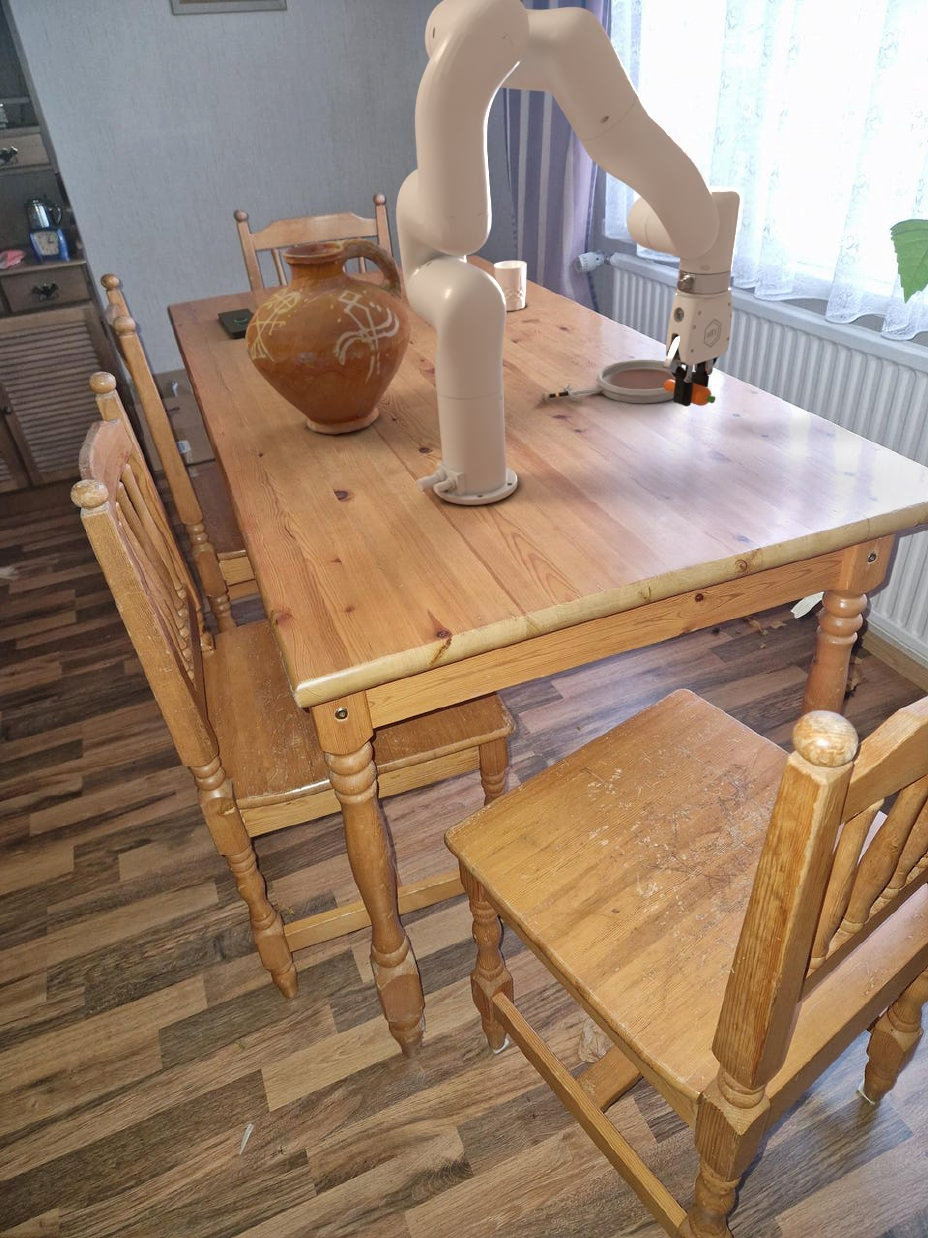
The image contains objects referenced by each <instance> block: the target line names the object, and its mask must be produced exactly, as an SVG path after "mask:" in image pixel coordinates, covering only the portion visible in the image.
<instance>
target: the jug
mask: <svg viewBox="0 0 928 1238" xmlns="http://www.w3.org/2000/svg"><path fill="white" fill-rule="evenodd" d="M281 256H282V257H283V259H284V260H283V261H284V262H285V263H286V264H287V265H288V267H289V269H290V275H291V278H290V283H288V285H286V286H285V287H282V288H281V289H279V290H277V291H275V292H274V293H272V295H270V296H269V297H267V298H266V300H265V301H264V302H262V303H261V304H260V305H259V306H258V308H257V309H256V311H255V313H253V315H254V316H253V317H252V319H251V320H250V322H249V324H248V327H247V330H246V337H244V341H245V348H246V352H247V355H248V357H249V359H250V361H251V362H252V364H253V366H254V368H255V369H256V370H257V371H258V373H259V374H260V376H262V378H263V379H264V380H265V381H266V382H267V383H268V384H269V385H270V387H272V388H273V389H274V390H275V391H276V393H278V394H279V396H281V397H282V398H284V400H286V401H287V402H288V403H289V404H291V405H292V406H293V407H294V408H295V409H297V410H298V411H300V412H301V413H302V414H303V415H304V416H305V417H307V418H306V425H307V427H308V428H309V430H311V431H312V432H315V433H319V434H324V435H339V434H347V433H352V432H356V431H357V432H358V431H361V430H364V429H366V428H368V427H369V426H370V425H372V423H373V422H374V421H376V420H377V419H378V417H379V415H380V412H379V410H378V409H377V405H378V404H379V402H380V401H381V399H382V397H383V396H384V394H385V393H386V391H387V390H388V388H389V386H390V384H391V383H392V381H393V379H395V376H396V375H397V373H398V371H399V369H400V367H401V364H402V362H403V360H404V357H405V355H406V353H407V350H408V348H409V347H408V346H409V342H410V337H411V324H410V319H409V316H408V313H407V310H406V305H405V300H404V295H403V289H402V277H401V272H400V269H399V267H398V264H397V262H396V259H395V258H394V257H393V255H392V254H391V253H390V252H389V251H388V250H387V249H386V248H385V247H383V246H382V245H380V244H378V243H376V242H373V241H372V240H369V239H365V238H345V239H343V240H342V239H341V240H331V241H324V242H311V243H306V244H303V245H299V246H295V247H291V248H287V249H284V250H283V251H282V252H281ZM358 258H364V259H366V260H369V261H371V262H373V263H374V265H376V267H377V268H378V269H379V270H380V271H381V273H382V274H383V280H382V282H381V283H380V284H376V283H374V282H373V281H370V280H367V279H363V278H360V277H356V276H351V275H350V274H348V273H347V272H346V271H345V270H344V266H345V264H346V263H347V262H348V260H354V259H358Z"/></svg>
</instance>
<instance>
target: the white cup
mask: <svg viewBox="0 0 928 1238" xmlns="http://www.w3.org/2000/svg"><path fill="white" fill-rule="evenodd" d="M493 272H494V273H493V275H494V279H495V281H496V282H497V283H498V285H499V286H500V288H501V290H502V292H503V294H504V298H505V302H506V312H512V311H519V310H522V309H524V308H525V306H526V304H525V303H526V293H527V292H526V291H527V262H526V261H522V260H504V261H503V260H502V261H499V262H496V263H494V264H493Z"/></svg>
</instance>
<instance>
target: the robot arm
mask: <svg viewBox="0 0 928 1238" xmlns="http://www.w3.org/2000/svg"><path fill="white" fill-rule="evenodd" d="M426 22H427V23H426V25H425V31H424V44H425V45H424V46H425V50H426V53H427V56H428V63H427V64H426V67H425V69H424V71H423V74H422V77H421V80H420V82H419V86H418V89H417V94H416V101H415V107H414V108H415V109H414V133H415V134H414V135H415V146H416V147H415V148H416V164H417V165H416V166H417V168H415V170H413V171H412V172H411V173H409V174H408V175H407V177H406V178H405V180H404V181H403V183H401V186H400V188H399V191H398V195H397V199H396V207H395V219H396V221H395V222H396V230H397V231H396V232H397V238H398V247H399V252H400V253H399V254H400V262H401V269H402V277H403V283H404V290H405V294H406V298H407V301H408V304H409V307H410V308H411V310H412V311H413V313H414V314H415V315H416V316H417V318H419V319H420V320H421V321H422V322H424V323H425V324H427V325H429V326H430V327H431V328H432V329H433V330H434V331H435V333H436V346H435V354H434V355H435V356H434V382H435V391H436V400H437V401H436V402H437V413H438V424H439V435H440V437H439V438H440V447H441V458H442V461H438V462H436V470H434V471H433V472H432V474H430V475H426V476H423V477H421V478H418V479H416V480H415V486H416V489H417V490H418V492H420V493H423V492H426V491H429V490H431V489H433V492H434V493H435V494H437V496H438V497H439V498H441V499H443V500H445V501H447V502H450V503H452V504H457V505H464V506H477V505H478V506H479V505H486V504H492V503H495V502H498V501H502V500H503V499H505V498H507V497H509V496H510V495H511V494H513V493H514V492H515V491H516V489H517V487H518V476H517V473H516V472H515V471H514V470H513V469H511V468H510V467H509V466H507V443H506V442H507V441H506V420H505V419H506V417H505V416H506V415H505V393H504V391H505V390H504V372H503V371H504V370H503V369H504V368H503V367H504V365H503V364H504V363H503V359H504V357H503V356H504V355H503V354H504V339H505V331H506V324H507V311H506V302H505V298H504V294H503V292H502V290H501V288H500V286H499V285H498V283H497V282H496V281H495V277H494V276H491V274H489V272H486V271H485V270H484V269H482V268H480V267H478V266H475V265H473V264H471V263H469V262H467V256H469V255H470V256H471V255H472V254H474V253H477V252H478V251H479V250H480V249H482V247H483V246H484V245H485V244H486V243H487V240H488V239H489V236H490V232H491V228H492V201H491V190H490V176H489V174H490V173H489V161H488V120H489V115H490V109H491V107H492V105H493V104H492V103H493V102H494V99H495V96H496V95H497V93H498V91H499V89H500V88H502V89H511V90H523V91H534V92H550V94H551V95H552V97H553V98H554V100H555V102H556V103H557V105H558V107H559V108H560V110H561V112H562V113H563V115H564V116H565V118H566V119H567V121H568V123H569V125H570V126H571V128H572V130H573V131H574V133H575V135H576V136H577V139H578V140H579V142H580V144H581V145H582V147H583V149H584V151H585V152H586V154H587V156H588V157H589V158H590V160H591V161H592V162H593V163H595V164H596V165H597V166H598V167H599V168H600V169H602V170H603V171H604V172H605V173H607V174H608V175H610V176H612V177H613V178H616V180H619V181H620V182H622V183H623V184H625V185H626V186H628V187H629V188H631V189H632V191H634V192H635V193H636V194H637V195H639V196H640V197H638V199H636V200H635V202H634V203H633V204H632V205H631V207H630V209H629V211H628V214H627V218H626V227H627V231H628V234H629V236H630V238H631V239H632V240H633V242H635V243H636V244H637V245H639V246H641V247H642V248H644V249H646V250H649V251H650V250H651V251H654V252H657V253H662V254H666V255H669V256H671V257H674V258H679V266H678V267H679V268H678V275H677V282H676V293H675V295H674V299H673V303H672V306H671V311H670V316H669V320H668V327H667V333H666V334H667V335H666V343H665V357H666V358H665V360H664V361H665V362H664V365H663V368H664V369H665V370H668V371H670V372H671V373H672V374H673V378H674V379H675V387H674V396H673V399H672V401H673V402H674V403H675V404H679V405H681V406H684V407H690V406H691V404H692V403H691V397H692V390H693V383H695V384H698V385H701V386H705V387H707V388H708V389H709V380H710V376H711V375H712V374H713V371H714V366H715V364H716V362H717V361H718V359H719V358H720V357H721V356H722V355H724V354H725V353H727V351H728V350H729V346H730V339H731V332H732V331H731V329H732V319H733V318H732V317H733V295H732V289H731V287H730V283H731V277H732V270H733V269H732V268H733V262H734V254H735V248H736V247H735V246H736V240H737V234H738V225H739V218H740V211H741V201H742V200H741V199H742V198H741V195H740V193H739V191H737V190H736V189H734V188H731V187H723V186H708V184H707V182H706V180H705V178H704V176H703V175H702V173H701V170H700V169H699V168H698V166H697V165H696V164H695V162H694V160H692V158H691V157H690V156H689V155H688V153H687V152H685V150H684V149H683V148H682V147H681V146H680V145H679V144H678V143H677V142H676V141H675V140H674V139H673V137H672V136H671V135H670V134H669V133H668V132H667V131H666V130H665V129H664V128H663V126H661V124H660V123H658V121H657V120H656V119H654V118H653V116H652V115H651V114H650V113H649V111H648V110H647V108H646V106H645V105H644V103H643V100H642V99H641V97H640V95H639V93H638V91H637V89H636V87H635V86H634V84H633V82H632V80H631V78H630V76H629V74H628V72H627V70H626V67H625V66H624V65H623V62H622V60H621V58H620V57H619V55H618V53H617V50H616V49H615V46H614V45H613V43H612V41H611V39H610V37H609V35H608V33H607V31H606V29H605V27H604V26H603V24H602V23H601V21H600V20H599V18H598V17H597V16H596V15H595V14H594V13H593V12H592V11H591V10H589V9H586V8H584V7H580V6H579V7H578V6H567V7H556V8H548V9H531V8H526V7H525V5H524V4H523V2H522V0H442V1H440V3H438V4H437V5H436V6H435V7H434V9H433V10H431V13H430V15H429V17H428V19H427V21H426ZM683 366H685V368H684V367H683ZM683 368H684V369H685V370H684V369H683Z"/></svg>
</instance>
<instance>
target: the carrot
mask: <svg viewBox="0 0 928 1238" xmlns="http://www.w3.org/2000/svg"><path fill="white" fill-rule="evenodd" d="M674 387H675V381H673V380H667V381H665V383H664V389H665V390H667V391H669V392H672V393H674ZM715 402H716V396H715V395H712V391H711V390H710V388H709V387H708V388H707V387H705V386H701V385H698V384H695V383H693V390H692V397H691V404H693V405H696V406H698V407H699V406H700V407H703V406H706V405H707V404H714V403H715Z"/></svg>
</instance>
